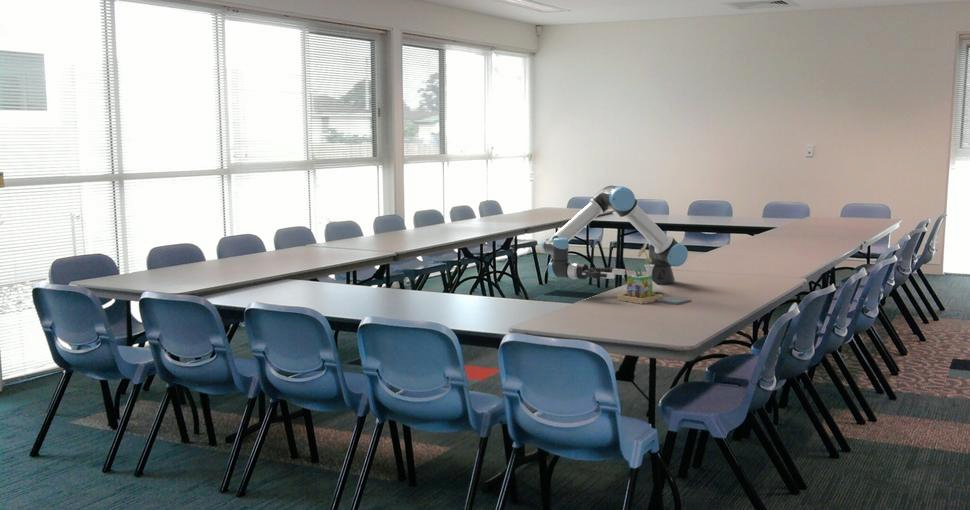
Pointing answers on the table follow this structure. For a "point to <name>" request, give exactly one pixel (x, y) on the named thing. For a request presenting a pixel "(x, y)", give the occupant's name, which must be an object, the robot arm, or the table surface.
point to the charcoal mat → (673, 300)
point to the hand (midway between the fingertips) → (619, 274)
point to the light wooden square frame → (638, 300)
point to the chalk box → (639, 285)
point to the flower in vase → (649, 270)
